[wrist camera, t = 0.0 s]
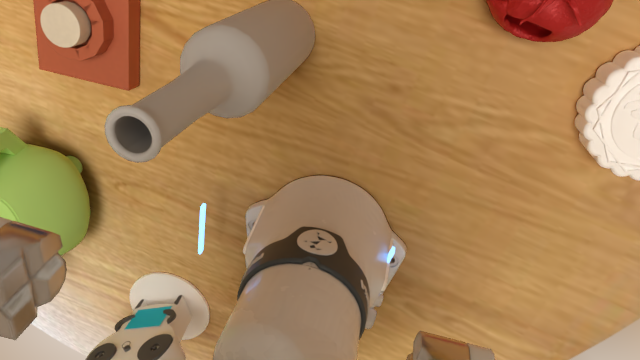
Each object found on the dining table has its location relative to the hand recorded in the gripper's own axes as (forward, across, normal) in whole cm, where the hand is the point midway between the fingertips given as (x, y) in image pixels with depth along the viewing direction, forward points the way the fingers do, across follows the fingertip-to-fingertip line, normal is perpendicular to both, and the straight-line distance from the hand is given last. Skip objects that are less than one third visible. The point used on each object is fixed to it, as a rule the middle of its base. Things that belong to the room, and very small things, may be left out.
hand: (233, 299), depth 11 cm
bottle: (+39, -8, -6) cm, 40 cm away
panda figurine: (+35, -18, -45) cm, 59 cm away
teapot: (+36, -34, -30) cm, 58 cm away
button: (+35, -28, -9) cm, 45 cm away
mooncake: (+39, +26, -6) cm, 47 cm away
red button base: (+38, -28, -9) cm, 48 cm away
